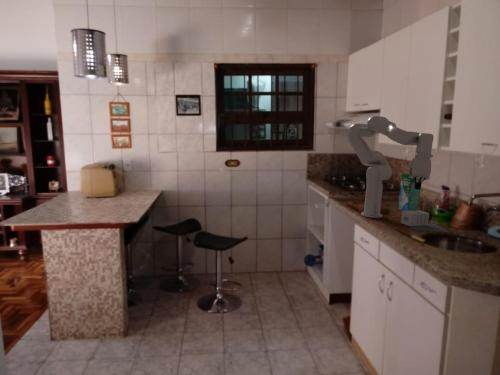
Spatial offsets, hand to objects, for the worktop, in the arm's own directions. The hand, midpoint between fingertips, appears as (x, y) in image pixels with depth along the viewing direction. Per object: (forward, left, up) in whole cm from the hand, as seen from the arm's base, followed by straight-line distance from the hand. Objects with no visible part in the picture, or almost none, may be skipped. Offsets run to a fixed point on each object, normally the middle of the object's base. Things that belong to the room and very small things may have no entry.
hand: (417, 189), depth 200 cm
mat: (+1, +6, -21) cm, 22 cm away
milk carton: (-45, +15, -21) cm, 52 cm away
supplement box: (0, -4, -17) cm, 17 cm away
